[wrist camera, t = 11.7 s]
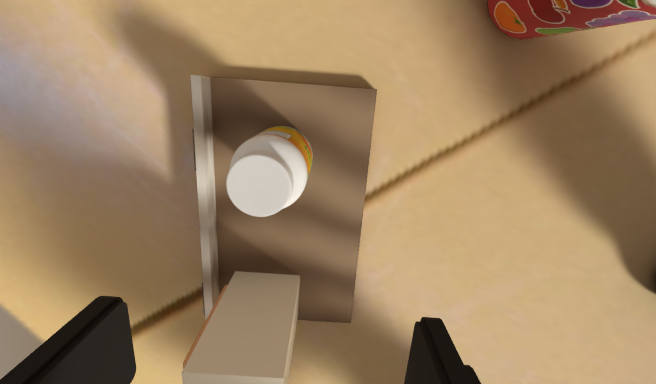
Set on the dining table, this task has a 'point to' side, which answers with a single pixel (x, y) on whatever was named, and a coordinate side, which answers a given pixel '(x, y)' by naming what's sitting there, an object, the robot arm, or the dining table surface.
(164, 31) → the dining table surface
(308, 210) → the thin taupe panel
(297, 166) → the supplement bottle
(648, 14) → the smoothie
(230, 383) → the carton
